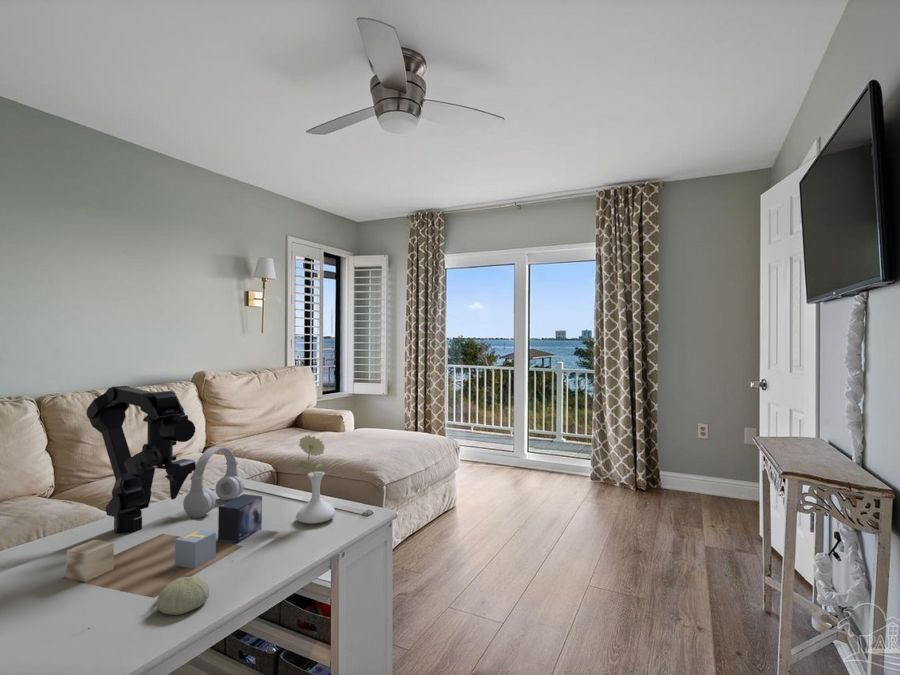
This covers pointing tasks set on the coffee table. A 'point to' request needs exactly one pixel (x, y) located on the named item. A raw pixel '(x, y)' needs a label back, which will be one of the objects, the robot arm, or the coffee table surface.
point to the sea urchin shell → (182, 595)
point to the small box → (239, 518)
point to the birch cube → (90, 560)
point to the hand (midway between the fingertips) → (159, 497)
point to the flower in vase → (314, 486)
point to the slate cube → (195, 548)
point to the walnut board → (151, 567)
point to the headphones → (226, 488)
